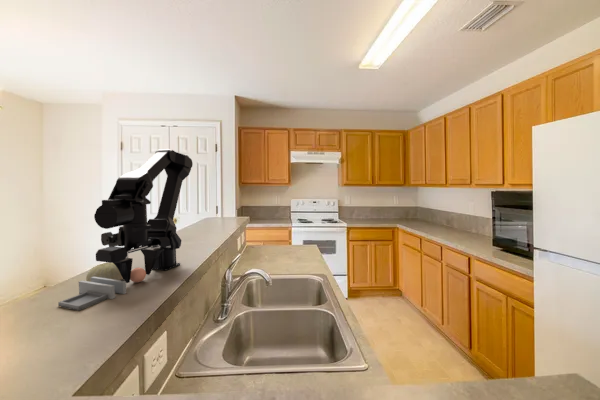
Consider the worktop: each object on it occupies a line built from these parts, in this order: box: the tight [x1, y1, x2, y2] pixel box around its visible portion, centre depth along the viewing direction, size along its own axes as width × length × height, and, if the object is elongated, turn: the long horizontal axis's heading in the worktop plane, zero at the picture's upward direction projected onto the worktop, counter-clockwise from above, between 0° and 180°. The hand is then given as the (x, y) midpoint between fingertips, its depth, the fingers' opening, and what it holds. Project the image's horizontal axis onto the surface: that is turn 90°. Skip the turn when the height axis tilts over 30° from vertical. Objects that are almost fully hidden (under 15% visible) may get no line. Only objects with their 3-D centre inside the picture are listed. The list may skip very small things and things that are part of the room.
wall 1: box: [78, 280, 116, 300], centre depth 69 cm, size 1×11×3 cm, turn 72°
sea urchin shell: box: [85, 262, 124, 282], centre depth 79 cm, size 9×8×8 cm
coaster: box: [58, 291, 108, 312], centre depth 65 cm, size 6×6×1 cm
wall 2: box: [91, 277, 127, 295], centre depth 72 cm, size 1×11×3 cm, turn 72°
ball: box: [130, 267, 147, 283], centre depth 78 cm, size 4×4×4 cm
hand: (138, 278), depth 78 cm, fingers open, 6 cm apart
